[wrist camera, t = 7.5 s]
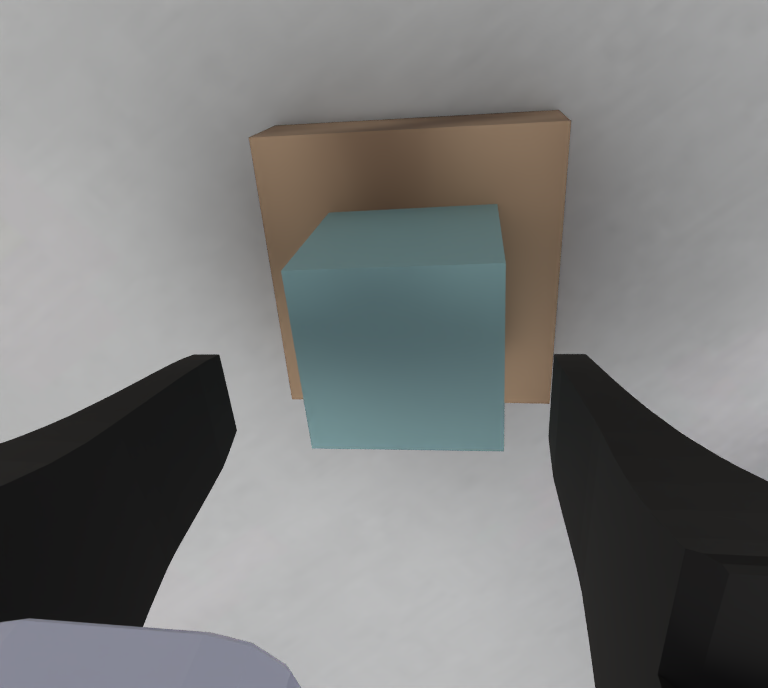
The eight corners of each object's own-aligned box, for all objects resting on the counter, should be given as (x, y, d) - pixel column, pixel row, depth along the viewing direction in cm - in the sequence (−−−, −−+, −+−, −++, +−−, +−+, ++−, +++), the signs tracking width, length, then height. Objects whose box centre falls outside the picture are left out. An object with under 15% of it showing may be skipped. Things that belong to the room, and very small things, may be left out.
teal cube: (497, 204, 17) (505, 262, 12) (496, 355, 19) (503, 450, 15) (328, 212, 18) (280, 270, 13) (347, 357, 20) (312, 448, 16)
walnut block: (556, 108, 18) (570, 120, 16) (540, 359, 22) (549, 403, 20) (278, 123, 20) (248, 137, 17) (312, 358, 24) (292, 399, 21)
